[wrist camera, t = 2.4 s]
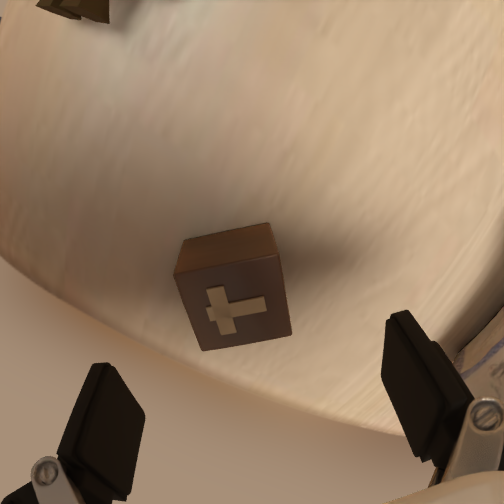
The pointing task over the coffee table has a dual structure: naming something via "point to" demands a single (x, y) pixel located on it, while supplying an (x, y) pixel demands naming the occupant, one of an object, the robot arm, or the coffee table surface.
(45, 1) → the figurine
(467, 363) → the potted plant
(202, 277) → the brown cube
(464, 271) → the coffee table surface
